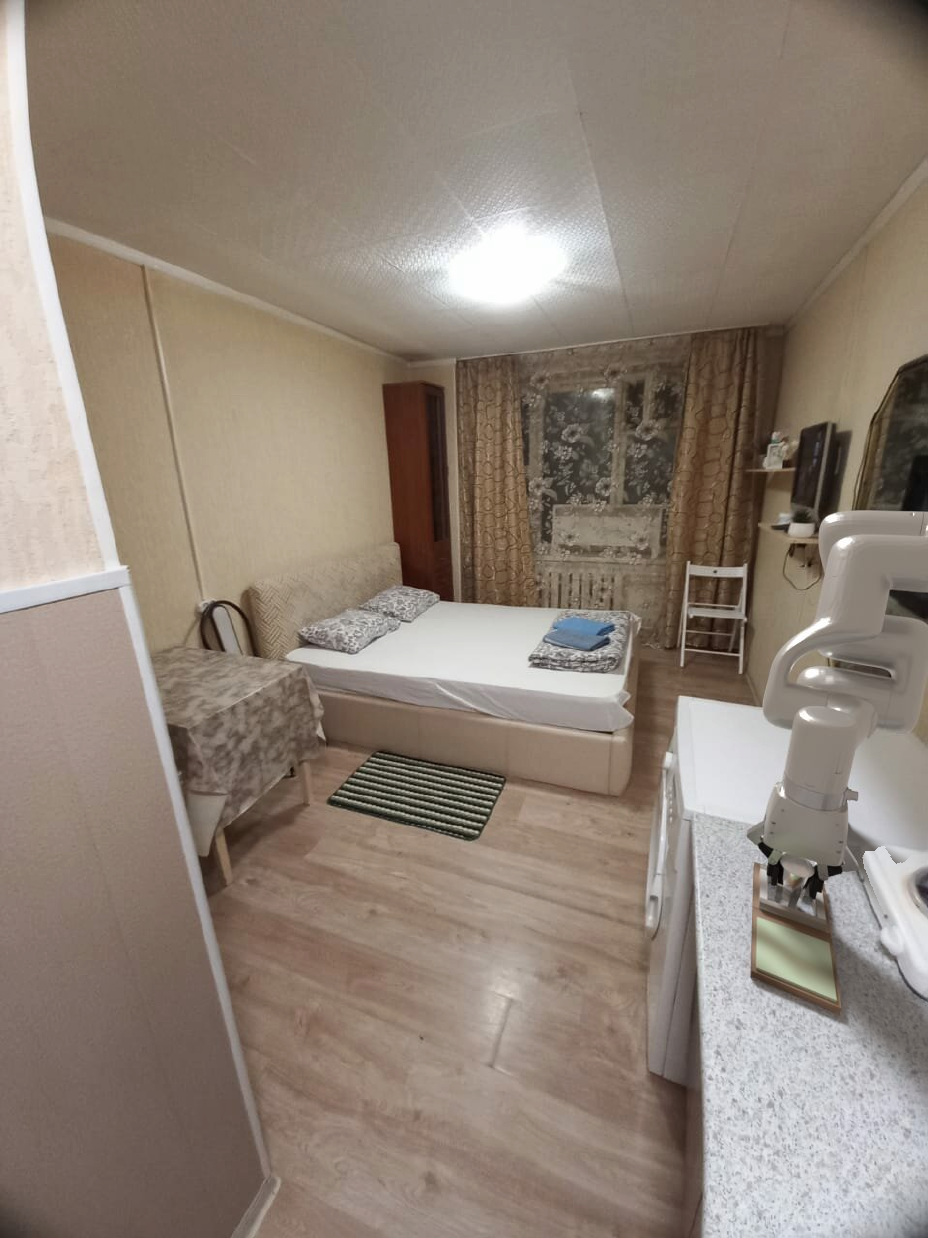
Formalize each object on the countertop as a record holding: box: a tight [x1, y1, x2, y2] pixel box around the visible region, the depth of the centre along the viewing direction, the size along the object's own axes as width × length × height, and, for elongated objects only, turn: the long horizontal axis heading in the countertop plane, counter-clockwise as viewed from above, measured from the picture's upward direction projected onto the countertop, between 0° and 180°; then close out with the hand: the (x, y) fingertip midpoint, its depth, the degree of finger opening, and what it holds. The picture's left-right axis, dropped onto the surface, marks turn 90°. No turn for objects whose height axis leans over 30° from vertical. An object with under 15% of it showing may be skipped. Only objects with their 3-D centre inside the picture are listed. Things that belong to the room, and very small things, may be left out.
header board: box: [749, 861, 843, 1016], centre depth 73 cm, size 22×10×2 cm, turn 149°
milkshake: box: [773, 852, 817, 910], centre depth 76 cm, size 5×5×10 cm
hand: (792, 885), depth 77 cm, fingers closed on milkshake, 4 cm apart
